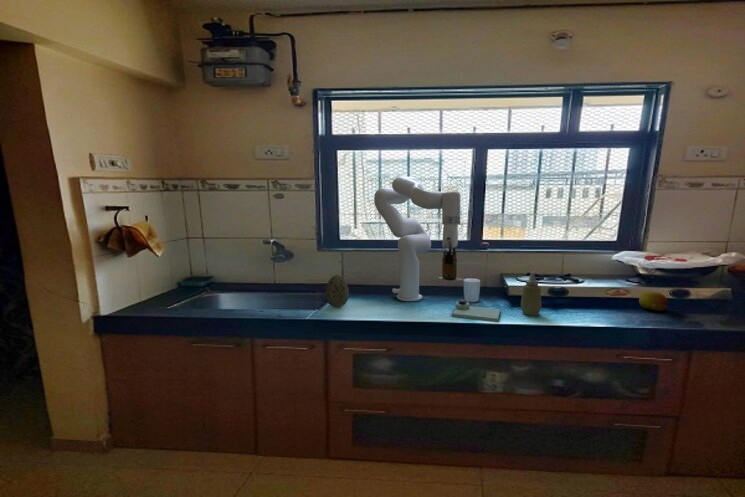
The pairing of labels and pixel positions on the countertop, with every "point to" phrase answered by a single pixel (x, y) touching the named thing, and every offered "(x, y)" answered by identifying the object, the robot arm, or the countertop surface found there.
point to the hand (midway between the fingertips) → (450, 262)
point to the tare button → (462, 302)
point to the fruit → (653, 301)
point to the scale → (476, 312)
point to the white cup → (471, 289)
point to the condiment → (449, 269)
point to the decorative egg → (337, 292)
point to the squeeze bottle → (531, 297)
